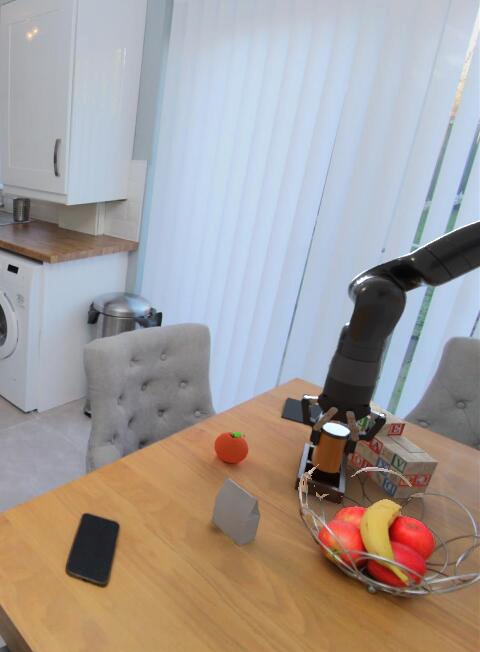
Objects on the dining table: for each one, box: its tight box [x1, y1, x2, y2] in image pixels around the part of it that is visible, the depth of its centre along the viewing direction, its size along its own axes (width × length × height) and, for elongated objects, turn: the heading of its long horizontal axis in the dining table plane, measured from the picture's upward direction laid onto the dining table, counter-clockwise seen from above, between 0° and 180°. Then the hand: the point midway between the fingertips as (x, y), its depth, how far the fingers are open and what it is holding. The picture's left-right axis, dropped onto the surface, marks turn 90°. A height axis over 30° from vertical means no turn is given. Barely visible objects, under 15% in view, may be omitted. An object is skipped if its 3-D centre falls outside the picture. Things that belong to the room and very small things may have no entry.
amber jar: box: [312, 423, 350, 473], centre depth 99 cm, size 5×5×9 cm
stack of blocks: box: [330, 399, 439, 499], centre depth 106 cm, size 21×6×12 cm, turn 178°
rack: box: [293, 442, 349, 505], centre depth 104 cm, size 8×15×3 cm, turn 142°
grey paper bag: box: [210, 477, 261, 547], centre depth 90 cm, size 4×7×10 cm, turn 19°
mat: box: [281, 397, 331, 425], centre depth 127 cm, size 14×12×1 cm
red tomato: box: [213, 431, 249, 464], centre depth 111 cm, size 8×7×7 cm
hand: (330, 448), depth 99 cm, fingers closed on amber jar, 4 cm apart
